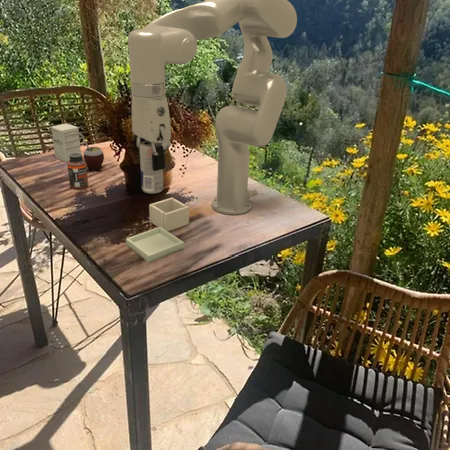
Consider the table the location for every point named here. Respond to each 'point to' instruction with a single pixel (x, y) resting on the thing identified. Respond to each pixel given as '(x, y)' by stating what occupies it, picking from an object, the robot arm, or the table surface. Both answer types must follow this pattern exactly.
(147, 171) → the energy drink
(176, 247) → the tray
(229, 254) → the table surface
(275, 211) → the table surface
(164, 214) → the can holder
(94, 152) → the mate gourd
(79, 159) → the supplement bottle
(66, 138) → the supplement box
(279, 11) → the robot arm
